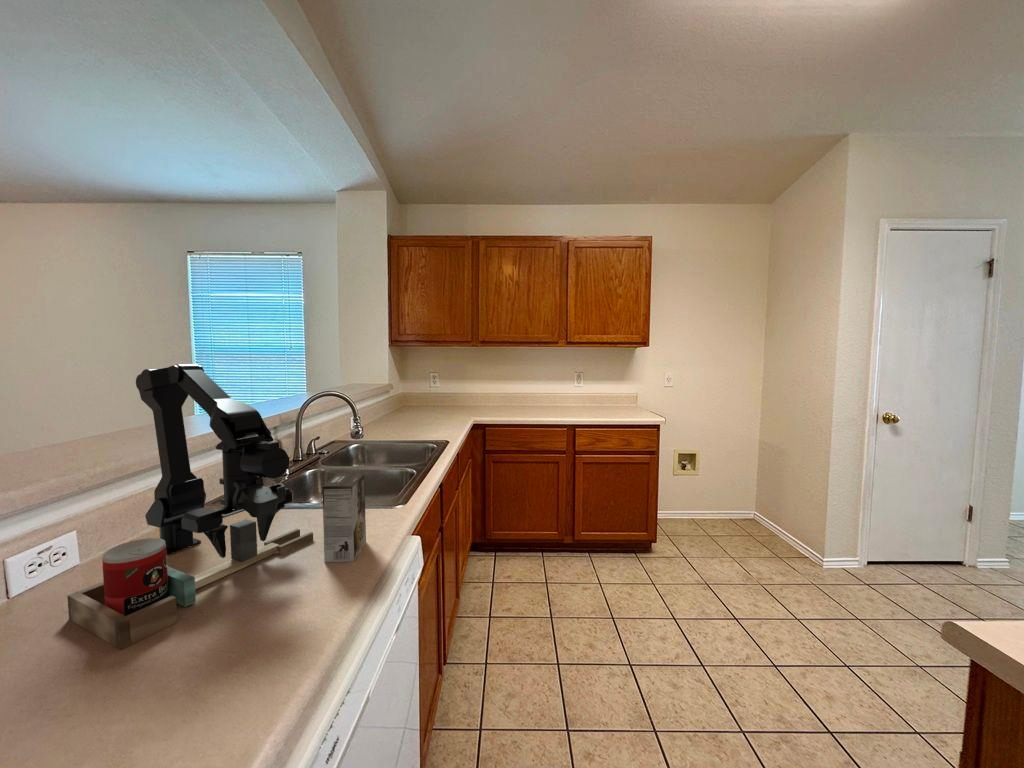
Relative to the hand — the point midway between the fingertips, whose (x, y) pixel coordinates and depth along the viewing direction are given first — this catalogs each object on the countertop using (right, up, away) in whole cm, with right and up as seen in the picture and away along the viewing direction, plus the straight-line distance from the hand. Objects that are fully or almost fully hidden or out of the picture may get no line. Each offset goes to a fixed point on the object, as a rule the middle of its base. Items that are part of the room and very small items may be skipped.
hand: (243, 548), depth 83 cm
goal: (-8, -5, -17) cm, 20 cm away
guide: (+4, -3, +9) cm, 11 cm away
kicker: (-1, -3, -3) cm, 5 cm away
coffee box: (+18, -3, +6) cm, 19 cm away
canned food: (-7, -5, -15) cm, 17 cm away
